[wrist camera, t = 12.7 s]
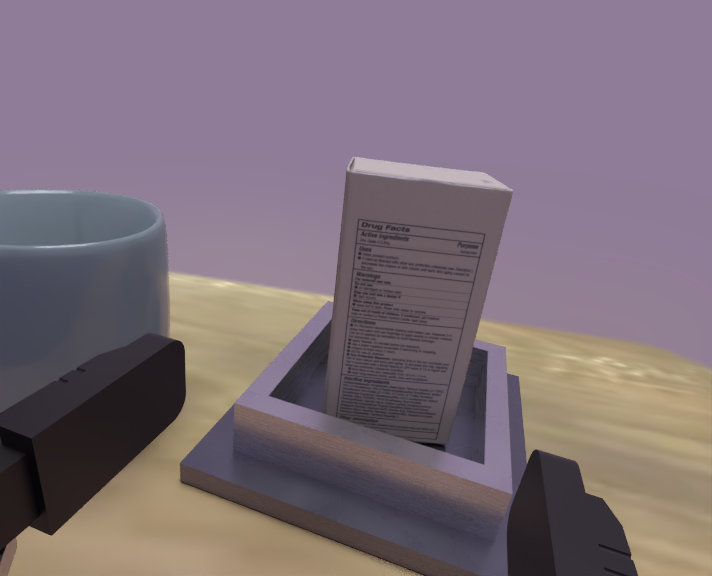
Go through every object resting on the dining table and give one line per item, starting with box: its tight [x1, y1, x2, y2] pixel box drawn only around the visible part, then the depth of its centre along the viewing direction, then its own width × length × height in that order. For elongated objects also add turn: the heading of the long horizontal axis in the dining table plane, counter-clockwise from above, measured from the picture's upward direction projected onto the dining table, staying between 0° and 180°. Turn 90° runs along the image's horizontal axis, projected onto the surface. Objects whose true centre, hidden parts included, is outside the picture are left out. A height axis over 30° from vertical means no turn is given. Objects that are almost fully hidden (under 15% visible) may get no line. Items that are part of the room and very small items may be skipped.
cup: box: [0, 189, 170, 413], centre depth 18 cm, size 8×8×10 cm
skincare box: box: [322, 157, 513, 444], centre depth 20 cm, size 6×4×12 cm
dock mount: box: [180, 301, 527, 576], centre depth 22 cm, size 14×14×4 cm
